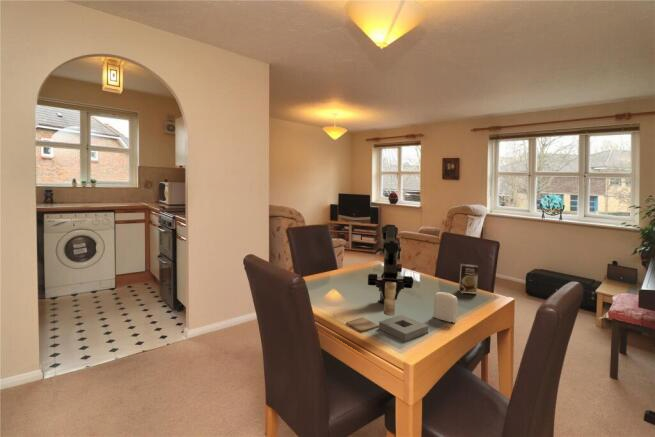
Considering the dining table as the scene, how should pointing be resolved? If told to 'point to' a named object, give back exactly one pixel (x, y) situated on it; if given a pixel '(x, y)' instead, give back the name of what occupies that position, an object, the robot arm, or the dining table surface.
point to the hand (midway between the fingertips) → (389, 299)
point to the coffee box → (468, 278)
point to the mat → (362, 324)
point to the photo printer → (445, 306)
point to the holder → (403, 327)
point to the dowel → (389, 298)
